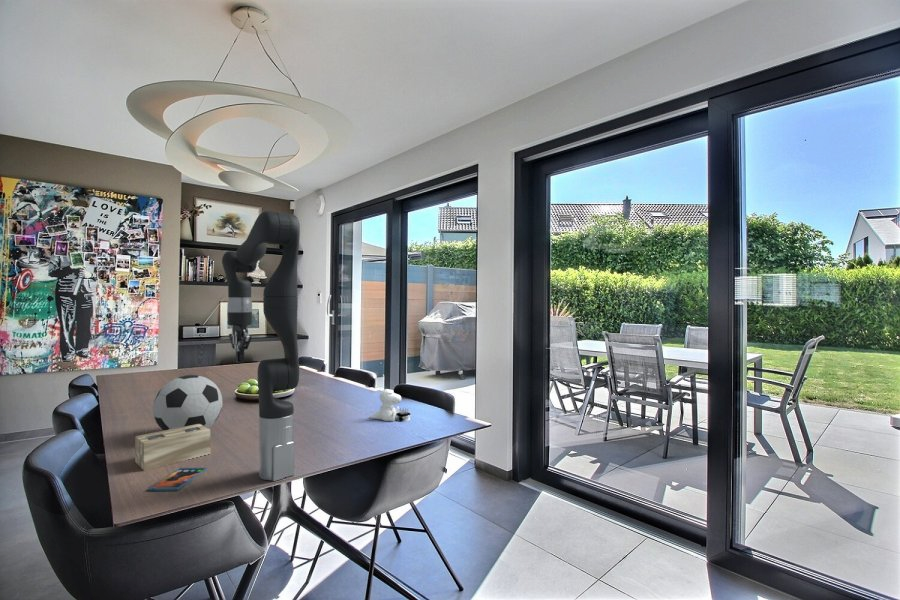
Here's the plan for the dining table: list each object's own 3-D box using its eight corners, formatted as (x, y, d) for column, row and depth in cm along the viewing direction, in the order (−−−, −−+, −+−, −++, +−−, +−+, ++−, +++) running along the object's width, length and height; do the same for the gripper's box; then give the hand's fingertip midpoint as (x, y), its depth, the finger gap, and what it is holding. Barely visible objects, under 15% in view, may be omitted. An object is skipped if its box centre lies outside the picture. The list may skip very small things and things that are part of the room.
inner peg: (199, 450, 141) (199, 429, 141) (187, 453, 139) (187, 432, 138) (195, 448, 144) (195, 427, 144) (183, 451, 141) (183, 429, 141)
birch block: (210, 454, 141) (210, 429, 141) (144, 470, 127) (144, 443, 127) (199, 447, 147) (199, 423, 147) (135, 462, 134) (135, 436, 134)
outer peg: (163, 459, 134) (163, 436, 134) (150, 462, 131) (149, 439, 131) (160, 456, 136) (160, 434, 136) (146, 459, 134) (146, 437, 133)
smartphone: (208, 467, 129) (178, 488, 114) (207, 471, 129) (177, 493, 114) (180, 466, 129) (146, 487, 114) (179, 470, 129) (146, 492, 114)
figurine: (408, 422, 176) (408, 392, 176) (365, 420, 179) (365, 390, 179) (412, 417, 185) (413, 387, 185) (372, 415, 187) (372, 386, 187)
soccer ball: (191, 447, 147) (191, 382, 147) (137, 442, 152) (136, 379, 151) (235, 428, 169) (235, 371, 169) (187, 424, 173) (186, 369, 173)
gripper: (259, 311, 145) (259, 363, 145) (243, 310, 154) (243, 359, 154) (236, 311, 139) (236, 365, 139) (220, 310, 148) (220, 361, 148)
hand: (240, 362), depth 146 cm, fingers closed
